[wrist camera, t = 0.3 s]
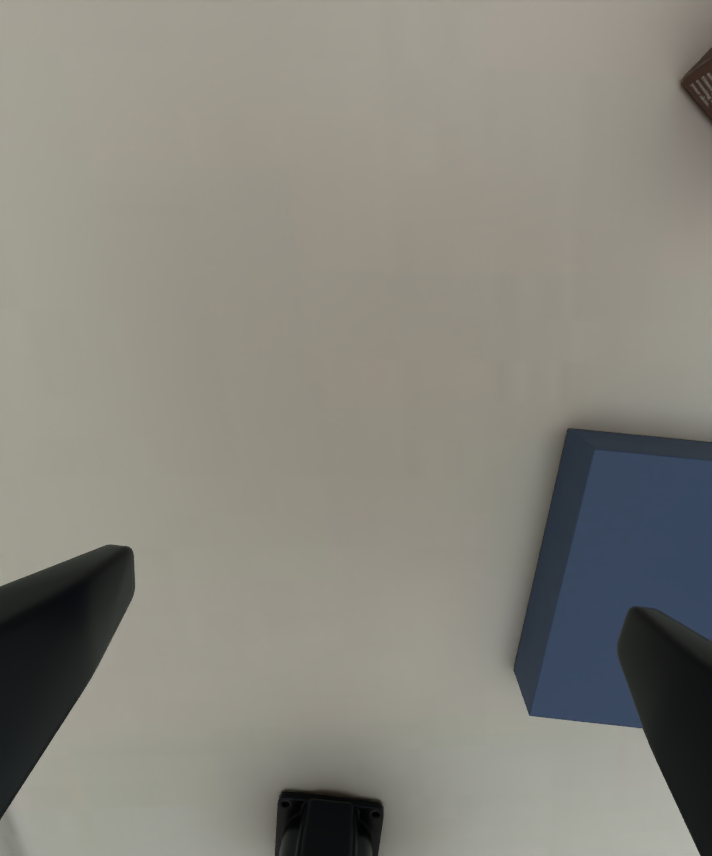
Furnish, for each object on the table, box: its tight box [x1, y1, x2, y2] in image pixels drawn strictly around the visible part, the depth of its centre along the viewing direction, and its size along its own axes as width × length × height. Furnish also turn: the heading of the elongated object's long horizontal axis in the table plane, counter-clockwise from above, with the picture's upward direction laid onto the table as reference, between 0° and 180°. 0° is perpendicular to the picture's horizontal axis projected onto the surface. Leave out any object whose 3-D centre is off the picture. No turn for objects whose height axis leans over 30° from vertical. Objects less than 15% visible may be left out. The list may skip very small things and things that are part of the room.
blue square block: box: [514, 429, 712, 728], centre depth 23 cm, size 14×14×3 cm
